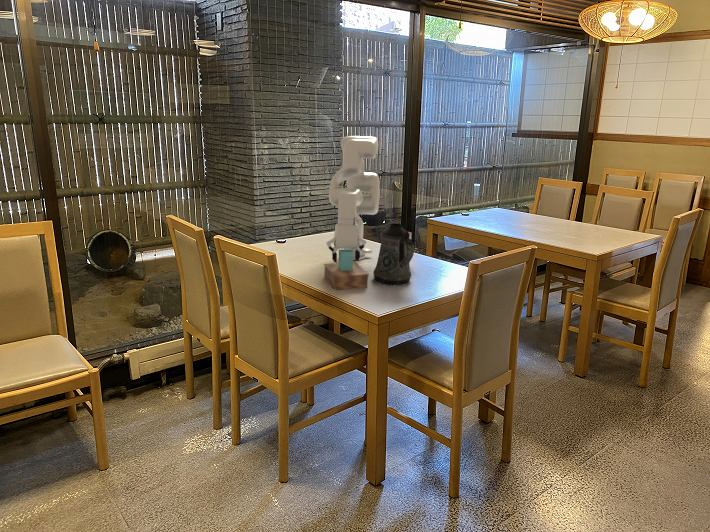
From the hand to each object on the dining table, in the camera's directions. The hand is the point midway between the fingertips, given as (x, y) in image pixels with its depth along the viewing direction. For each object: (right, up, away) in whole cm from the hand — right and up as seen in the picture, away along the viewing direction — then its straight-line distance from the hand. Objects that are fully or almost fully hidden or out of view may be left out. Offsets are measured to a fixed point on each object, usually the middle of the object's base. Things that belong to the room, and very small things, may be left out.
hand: (345, 260), depth 226 cm
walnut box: (0, -9, +2) cm, 10 cm away
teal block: (0, -3, +1) cm, 4 cm away
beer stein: (+21, -9, +7) cm, 24 cm away
